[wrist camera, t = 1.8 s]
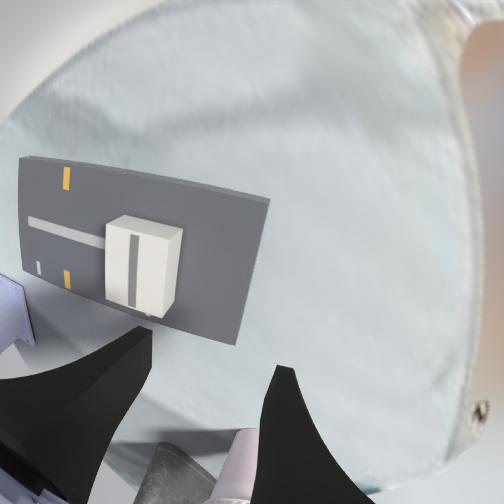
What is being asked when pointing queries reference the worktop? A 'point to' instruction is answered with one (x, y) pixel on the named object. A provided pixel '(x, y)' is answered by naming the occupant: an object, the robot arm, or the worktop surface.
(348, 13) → the worktop surface
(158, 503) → the flask
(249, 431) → the smoothie
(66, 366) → the robot arm
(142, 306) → the fader knob
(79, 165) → the console
